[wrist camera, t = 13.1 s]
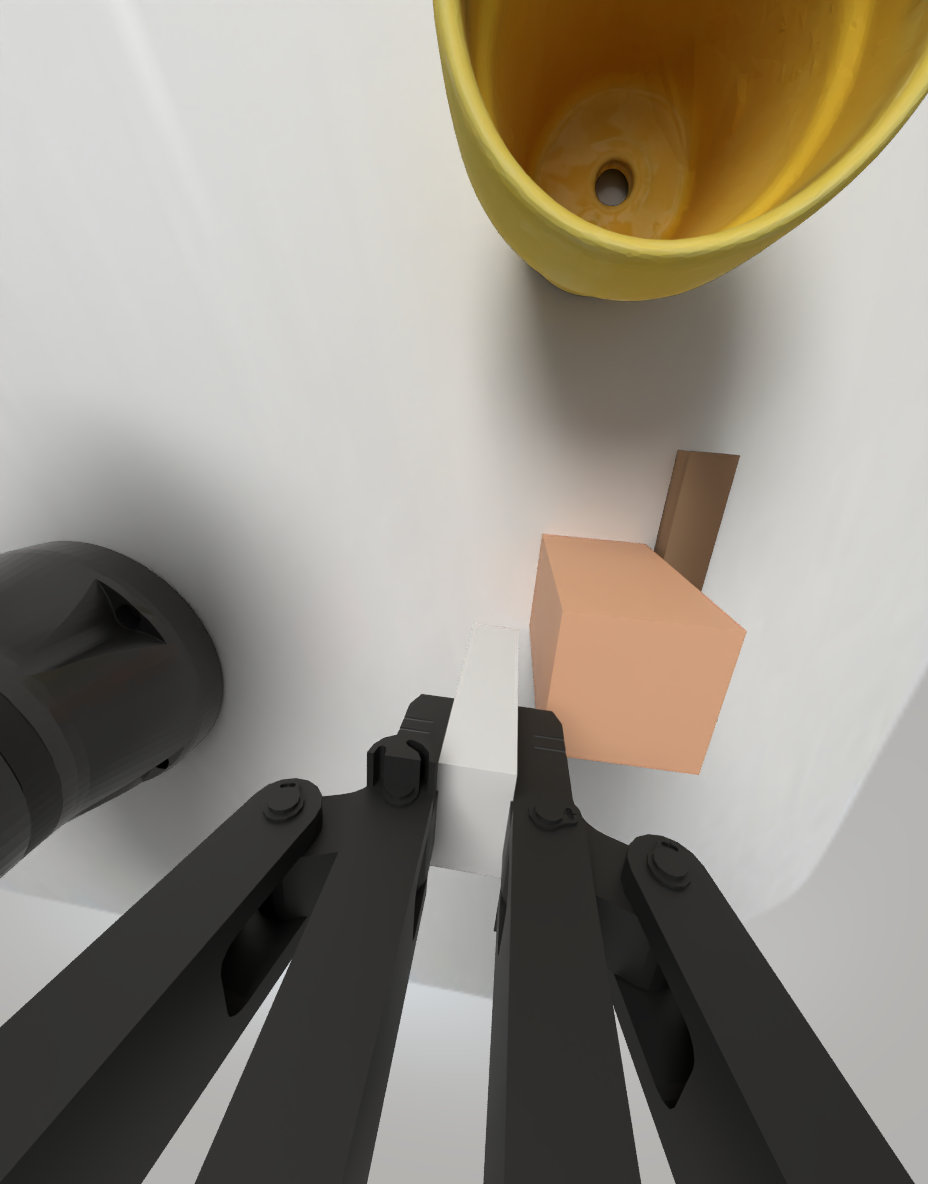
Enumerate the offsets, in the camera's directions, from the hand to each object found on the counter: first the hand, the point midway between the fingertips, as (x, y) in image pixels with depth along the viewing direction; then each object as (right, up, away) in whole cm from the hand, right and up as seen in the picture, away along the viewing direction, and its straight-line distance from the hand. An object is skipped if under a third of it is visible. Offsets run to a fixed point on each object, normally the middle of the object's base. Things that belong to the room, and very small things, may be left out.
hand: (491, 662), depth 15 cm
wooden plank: (+9, +2, +7) cm, 12 cm away
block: (+5, +3, +8) cm, 10 cm away
